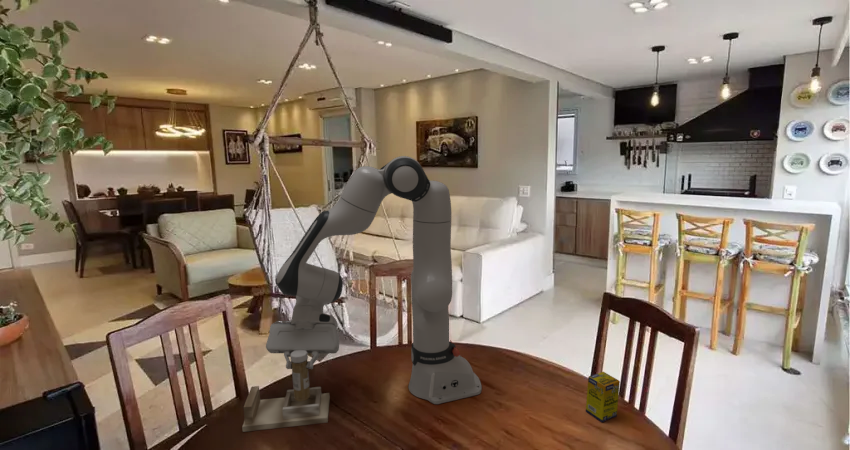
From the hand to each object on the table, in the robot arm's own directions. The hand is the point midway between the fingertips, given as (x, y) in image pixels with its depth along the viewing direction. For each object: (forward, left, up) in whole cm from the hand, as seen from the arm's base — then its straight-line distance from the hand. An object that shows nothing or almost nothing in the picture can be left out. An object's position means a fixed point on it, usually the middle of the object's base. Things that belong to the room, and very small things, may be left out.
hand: (299, 368), depth 121 cm
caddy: (+4, -1, -14) cm, 14 cm away
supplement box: (-82, +15, -14) cm, 85 cm away
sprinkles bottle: (0, 0, -9) cm, 9 cm away
